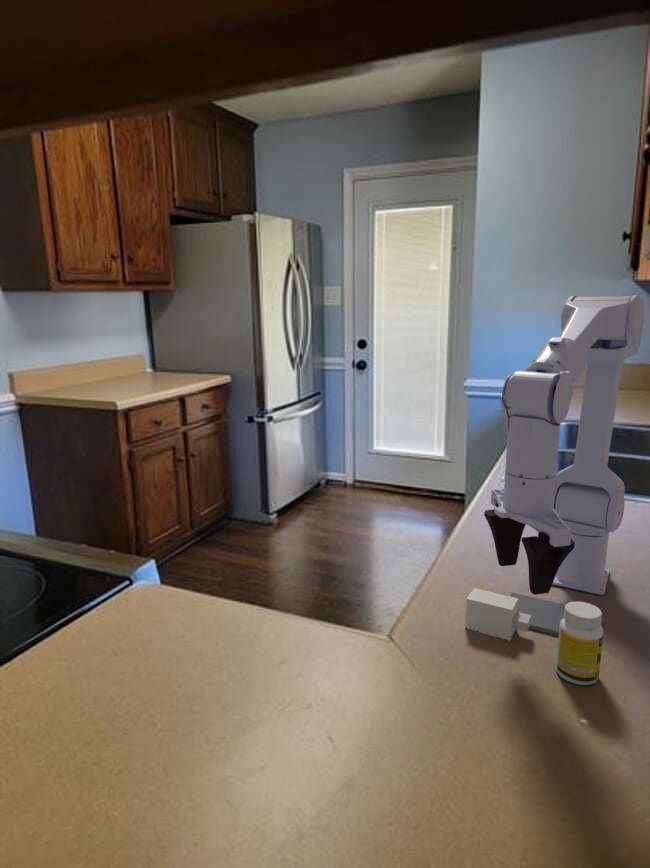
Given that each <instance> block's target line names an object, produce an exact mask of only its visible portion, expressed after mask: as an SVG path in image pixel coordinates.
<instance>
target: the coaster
mask: <svg viewBox="0 0 650 868" xmlns="http://www.w3.org/2000/svg"><path fill="white" fill-rule="evenodd" d="M509 596H510V597H514V598H518V610H517V612H521V613H525V614H529V615H531V624H530V626H529V628H528V629H531V630H534V631H537V632H542V633H545V634H548V635H549V634H550V635H552V636H556V637H557V636H558V637H559V626H560V622H561V620H562V619H563V618H564V609H565V605H566V604H564V603H559V602H555V601H550V600H546V599H542V598H538V597H534V596H529V595H526V594H525V595H524V594H521V593H516V592H511V594H510V595H509Z"/></svg>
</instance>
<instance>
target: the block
mask: <svg viewBox="0 0 650 868" xmlns="http://www.w3.org/2000/svg"><path fill="white" fill-rule="evenodd" d="M510 596H511V595H506V594H501V593H496V592H493V591H489V590H485V589H481V588H475V587H474V588H473V589H472V591H471V592H470V593H469V595H468V597H466V605H465V607H466V608H465V624H464V629H465V628H468V629H467V630H469V629H472V630H471V631H473V630H475V631H474V632H476V631H479V632H478V633H480V632H482V633H481V634H484V635H487V634H488V636H490V637H491V636H492V637H496V638H498V637H499V638H500V639H503V640H505V641H509V642H511V640H512V638H513V635H514V634H515V632H516V630H518V631H520V632H521V631H522V632H526V633H527V632H528V631H529V629H530V628H529V626H530V624H531V615H529V614H525V613H521V612H517V610H518V598H514V597H510ZM499 638H498V639H499Z"/></svg>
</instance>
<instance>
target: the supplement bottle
mask: <svg viewBox="0 0 650 868" xmlns="http://www.w3.org/2000/svg"><path fill="white" fill-rule="evenodd" d="M564 605H565V609H564V618H563V619H562V620H561V622H560V626H559V636H558V637H557V638H558V639H557V650H556V661H555V670H556V673H557V674H558V675H559V677H561V679H563V680H565V681H567V682H569V683H572V684H575V685H580V686H588V685H589V686H590V685H593V684H595V683H597V682H598V680H599V676H600V669H601V661H602V659H601V658H602V650H603V640H604V629H603V627H602V622H603V620H602V618H603V613H602V610H601V609H600V608H599V607H598V606H596V605H594V604H591V603H589V602H585V601H569V602H567V603H566V604H564Z"/></svg>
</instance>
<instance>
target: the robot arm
mask: <svg viewBox="0 0 650 868" xmlns="http://www.w3.org/2000/svg"><path fill="white" fill-rule="evenodd" d="M644 321H645V303H644V300H643V299H642V298H641V296H640V295H638V294H633V295H632V296H631V295H627V296H626V295H623V296H621V295H620V296H619V295H618V296H616V295H615V296H614V295H613V296H611V295H610V296H607V295H606V296H604V295H603V296H577V295H571V296H569V297H568V299H567V300H565V302H564V305H563V307H562V310H561V317H560V330H561V333H560V335H559V336H558V337H551V338H550V339H549V340H547V341H546V342H545V343H544V344H543V345H542V346H541V348H540V349H539V351H537V353H536V355H534V357H533V358H532V360H531V361H530V362H529V364H528V365H527V366H526V368H524V369H523V370H516V371H514V373H513V374H509V375H507V377H506V378H505V381H504V383H503V386H502V390H501V391H502V392H501V396H500V409H501V413H502V416H503V428H502V429H503V432H504V433H505V434H507V436H506V439H507V441H506V453H505V468H504V471H505V472H504V487H503V488H499V489H491V495H490V497H491V498H490V504H491V505H493V506H495V507H494V508H493V509H486V510H485V511H484V513H483V514H484V518H485V519H486V521H487V524H488V526H489V529H490V531H491V534H492V537H493V541H494V542H493V543H494V547H495V553H496V557H497V562H498V565H499V566H500V567H508V566H516V564H517V562H518V559H519V552H520V546H521V542H522V545H523V549H524V551H525V555H526V558H527V565H528V586H529V587H528V588H529V591H530V593H532V594H533V596H534V595H543V594H549V593H550V591H551V588H552V586H558V587H564V588H567V589H573V590H576V591H581V592H586V593H590V594H594V595H595V594H596V595H599V596H604V595H605V592H606V588H607V583H608V578H609V574H610V569H609V568H606V566H607V565H606V564H607V554H608V545H609V535H610V533H614V532H615V531H617V530H618V529H619V528H620V526H621V523H622V521H623V516H624V512H625V511H624V510H625V502H626V501H625V489H626V487H625V483H624V481H623V480H622V479H621V478H620V477H619V476H618V475H617V474H616V473H615V472H613V470H611V469H610V468H609V466H608V463H609V457H610V451H611V450H610V448H611V443H612V436H613V435H612V434H613V428H614V422H615V415H616V407H617V400H618V394H619V389H620V388H619V387H620V379H621V373H622V370H623V367H624V364H625V361H626V359H629V358H632V357H634V356H636V355H638V353H639V348H640V347H641V342H642V341H641V340H642V334H643V329H644ZM585 369H586V370H585ZM584 371H586V372H585V379H584V385H583V392H582V393H583V394H582V401H581V407H580V414H579V415H580V416H579V422H578V430H577V438H576V445H575V452H574V458H573V464H571V465H569V466H567V467H565V468H564V469H561V470H560V471H558V472H557V466H558V456H559V455H558V454H559V444H560V433H561V431H560V430H561V424H563V422H564V421H565V420H566V419H567V415H568V412H569V409H570V406H571V401H572V399H573V395H574V386H575V384H576V383H577V382H578V380H579V378H580V377H581V376H582V374H583V372H584ZM526 526H528V527H530V528H532V529H533V530H535V531H536V532H538V533H537V535H535V536H525V537H523V534H524V530H525V527H526Z"/></svg>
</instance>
